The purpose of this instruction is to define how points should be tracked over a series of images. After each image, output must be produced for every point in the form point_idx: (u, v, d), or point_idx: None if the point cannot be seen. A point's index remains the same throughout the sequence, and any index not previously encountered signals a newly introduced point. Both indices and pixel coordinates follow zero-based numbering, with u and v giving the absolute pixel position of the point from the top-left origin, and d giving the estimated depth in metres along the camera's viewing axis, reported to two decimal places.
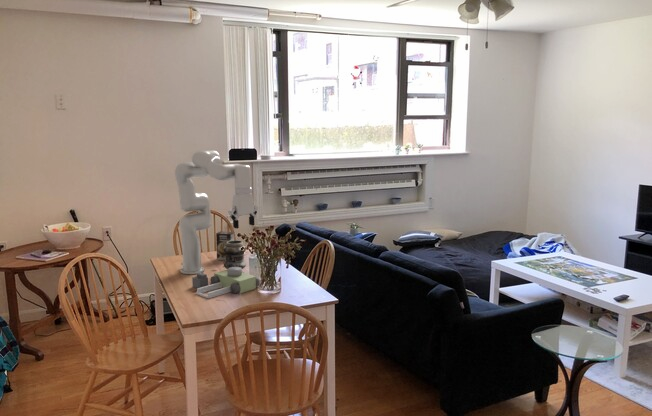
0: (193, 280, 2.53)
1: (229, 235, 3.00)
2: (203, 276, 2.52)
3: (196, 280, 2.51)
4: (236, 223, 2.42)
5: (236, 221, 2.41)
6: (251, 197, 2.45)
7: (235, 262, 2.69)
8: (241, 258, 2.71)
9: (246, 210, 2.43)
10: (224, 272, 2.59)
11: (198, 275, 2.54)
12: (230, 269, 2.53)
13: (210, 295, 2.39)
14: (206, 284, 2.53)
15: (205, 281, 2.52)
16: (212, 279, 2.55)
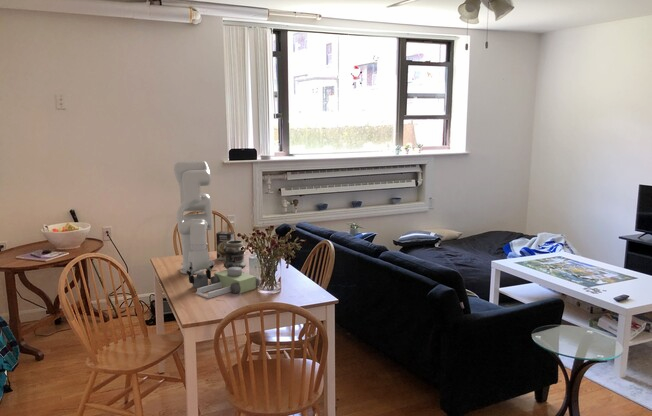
0: None
1: (229, 235, 3.00)
2: (203, 276, 2.52)
3: (196, 280, 2.51)
4: None
5: (192, 276, 2.48)
6: (207, 252, 2.52)
7: (235, 262, 2.69)
8: (241, 258, 2.71)
9: (202, 265, 2.50)
10: (224, 272, 2.59)
11: (198, 275, 2.54)
12: (230, 269, 2.53)
13: (210, 295, 2.39)
14: (206, 284, 2.53)
15: (205, 281, 2.52)
16: (212, 279, 2.55)
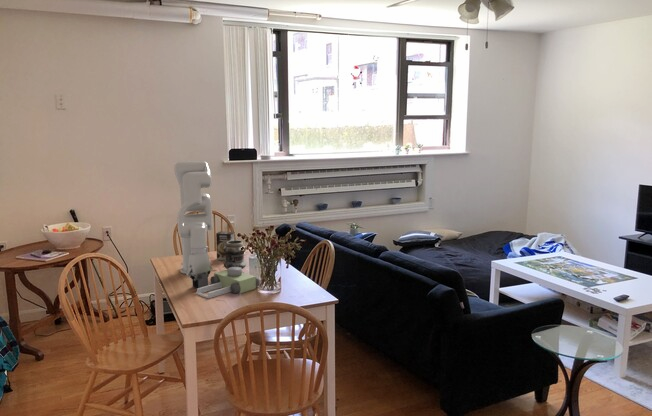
0: None
1: (229, 235, 3.00)
2: (203, 276, 2.52)
3: None
4: (195, 283, 2.51)
5: (195, 281, 2.51)
6: (207, 256, 2.53)
7: (235, 262, 2.69)
8: (241, 258, 2.71)
9: (202, 268, 2.51)
10: (224, 272, 2.59)
11: (198, 275, 2.54)
12: (230, 269, 2.53)
13: (210, 295, 2.39)
14: (206, 284, 2.53)
15: (205, 280, 2.52)
16: (212, 279, 2.55)
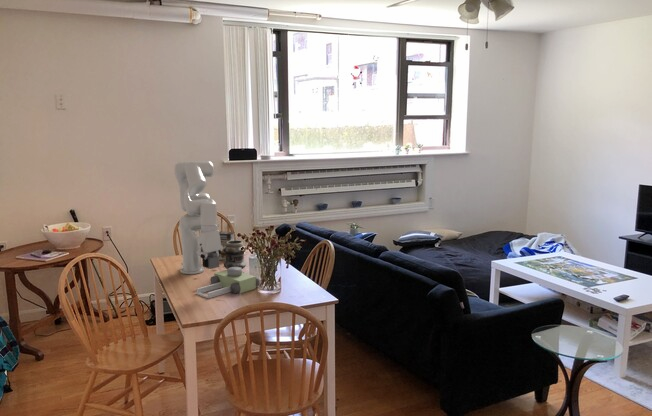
0: None
1: (229, 235, 3.00)
2: (214, 255, 2.40)
3: None
4: None
5: None
6: (218, 234, 2.41)
7: (235, 262, 2.69)
8: (241, 258, 2.71)
9: (213, 247, 2.40)
10: (224, 272, 2.59)
11: (208, 254, 2.42)
12: (230, 269, 2.53)
13: (210, 295, 2.39)
14: (217, 263, 2.42)
15: (216, 260, 2.41)
16: (212, 279, 2.55)
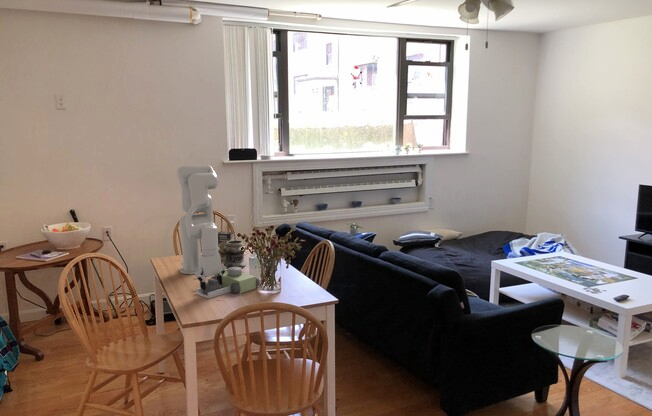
0: None
1: (229, 235, 3.00)
2: (215, 282, 2.43)
3: (207, 286, 2.42)
4: (203, 284, 2.40)
5: (203, 283, 2.40)
6: (218, 257, 2.43)
7: (235, 262, 2.69)
8: (241, 258, 2.71)
9: (213, 270, 2.42)
10: None
11: (209, 281, 2.45)
12: (230, 269, 2.53)
13: (210, 295, 2.39)
14: None
15: (217, 287, 2.43)
16: None
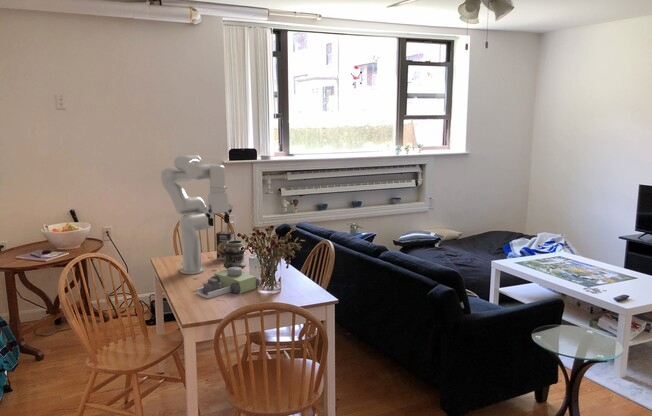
0: (204, 286, 2.44)
1: (229, 235, 3.00)
2: (215, 282, 2.43)
3: (207, 286, 2.42)
4: (211, 221, 2.51)
5: (211, 219, 2.51)
6: (226, 196, 2.55)
7: (235, 262, 2.69)
8: (241, 258, 2.71)
9: (221, 208, 2.53)
10: (224, 272, 2.59)
11: (209, 281, 2.45)
12: (230, 269, 2.53)
13: (210, 295, 2.39)
14: None
15: (217, 287, 2.43)
16: None
